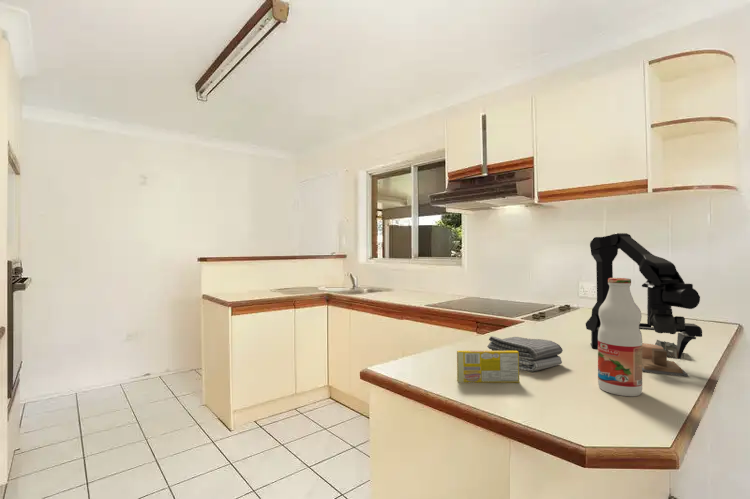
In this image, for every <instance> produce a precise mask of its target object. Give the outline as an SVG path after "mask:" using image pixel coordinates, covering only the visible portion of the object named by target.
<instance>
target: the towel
mask: <svg viewBox="0 0 750 499" xmlns="http://www.w3.org/2000/svg"><path fill="white" fill-rule="evenodd" d="M488 341H490V342H489V343H488V345H487V348H488V349H489V350H490V351H518V352H519V371H520V370H521V371H525V372H537V371H541V370H545V369H549V368H552V367H556V366H559V365H562V363H563V361H562V358H561V357H562V356H560V355H561V354H562V353H563V348H562V346H561V345H560V344H559V343H556V342H555V341H552V340H548V339H543V338H541V339H540V338H528V337H520V336H511V337H506V338H499V337H496V336H490V337H489V339H488Z"/></svg>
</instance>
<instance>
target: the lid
mask: <svg viewBox="0 0 750 499" xmlns="http://www.w3.org/2000/svg"><path fill="white" fill-rule="evenodd" d="M642 367H643V368H644V369H646V370H656V371H665V372H674V373H683V370H684V369H683V368H682V367H681V366H679V365H678V363H676V362H675V361H671V360H668V356H667V352H666V351H665V350H664V349H654V348H652V359H644V358H642ZM682 369H683V370H682Z"/></svg>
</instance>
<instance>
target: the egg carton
mask: <svg viewBox="0 0 750 499" xmlns="http://www.w3.org/2000/svg"><path fill="white" fill-rule="evenodd" d="M654 345H658V346H661V347H663V349H664V350H665V351H666V352H667V357H673V358H675V359H678V358H677V344H675V342H669V341H665V340H664V341H663V340H660V339H656V341H655V344H654ZM683 353H684V352H683ZM683 353H682V355H681V358H683V356H684V355H683ZM681 358H680V359H681Z"/></svg>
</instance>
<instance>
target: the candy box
mask: <svg viewBox="0 0 750 499" xmlns="http://www.w3.org/2000/svg"><path fill="white" fill-rule="evenodd" d="M456 371H457V372H456V379H457V382H458V383H466V382H467V383H468V382H470V383H471V382H472V383H473V382H474V383H475V384H476V383H479V384H480V383H484V384H485V383H487V384H488V383H493V384H494V383H497V384H503V383H504V384H507V383H509V384H514V383H515V384H519V383H520V369H519V352H518V351H492V350H456Z"/></svg>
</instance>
